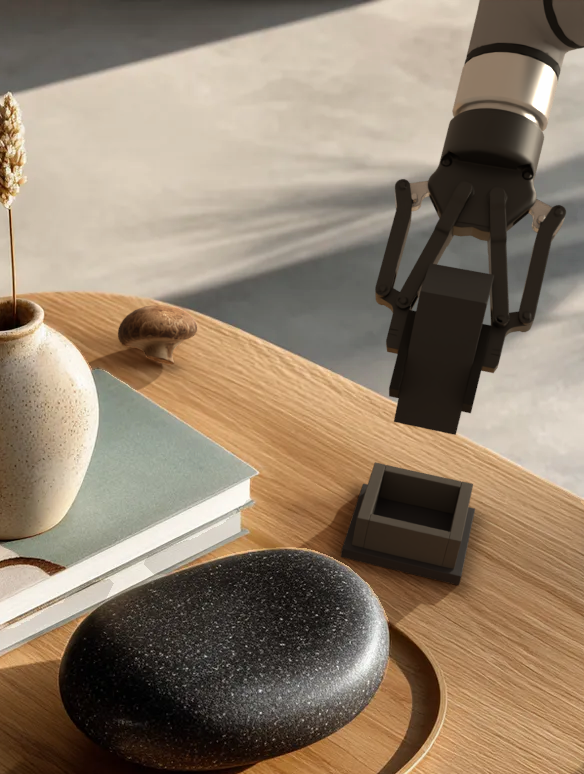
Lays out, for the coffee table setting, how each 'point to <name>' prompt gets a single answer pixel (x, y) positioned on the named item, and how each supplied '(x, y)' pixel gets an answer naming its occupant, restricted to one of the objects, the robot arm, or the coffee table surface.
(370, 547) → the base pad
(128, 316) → the mushroom
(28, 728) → the coffee table surface
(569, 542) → the coffee table surface
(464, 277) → the dark rectangular block
